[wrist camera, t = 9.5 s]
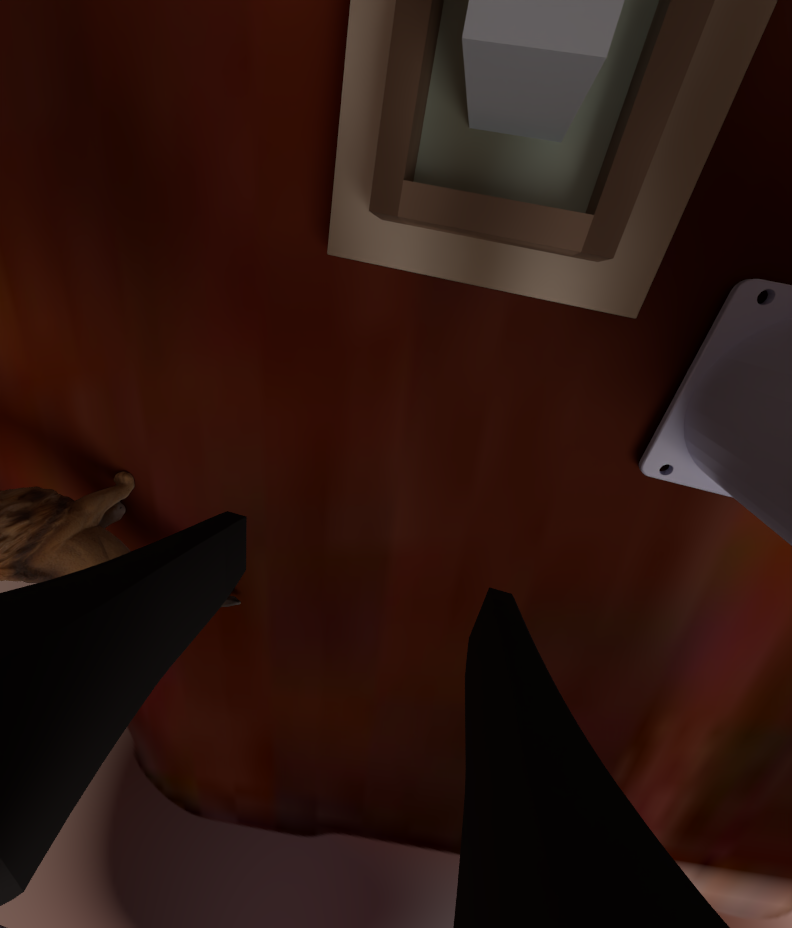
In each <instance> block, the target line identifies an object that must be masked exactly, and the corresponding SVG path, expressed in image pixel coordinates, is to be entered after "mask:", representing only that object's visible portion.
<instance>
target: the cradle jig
mask: <svg viewBox="0 0 792 928" xmlns="http://www.w3.org/2000/svg"><path fill="white" fill-rule="evenodd" d="M777 1H778V0H625V1H624V4H623V7H622V10H621V13H620V16H619V20H618V23H617V26H616V29H615V32H614V35H613V39H612V42H611V45H610V48H609V51H608V55H607V58H606V60H605V61H604V63H603V65H602V67H601V69H600V71H599V73H598V74H597V76H596V78H595V80H594V82H593V84H592V86H591V88H590V89H589V91H588V93H587V95H586V97H585V99H584V101H583V102H582V104H581V106H580V108H579V110H578V112H577V114H576V116H575V117H574V119H573V121H572V123H571V125H570V127H569V129H568V130H567V132H566V134H565V136H564V138H563V140H562V142H554V141H548V140H542V139H536V138H529V137H523V136H517V135H510V134H504V133H498V132H492V131H485V130H479V129H473V128H469V119H468V107H467V94H466V82H465V70H464V57H463V45H462V35H463V30H464V25H465V19H466V14H467V9H468V3H469V0H350V11H349V22H348V33H347V44H346V55H345V66H344V77H343V88H342V99H341V110H340V121H339V131H338V142H337V153H336V164H335V175H334V186H333V197H332V208H331V219H330V230H329V241H328V252H327V254H329V255H333V256H338V257H342V258H347V259H352V260H357V261H361V262H366V263H371V264H376V265H381V266H385V267H390V268H395V269H400V270H405V271H409V272H414V273H419V274H424V275H428V276H433V277H438V278H443V279H448V280H452V281H457V282H462V283H467V284H472V285H476V286H481V287H486V288H491V289H495V290H500V291H505V292H510V293H515V294H519V295H524V296H529V297H534V298H539V299H543V300H548V301H553V302H558V303H562V304H567V305H572V306H577V307H582V308H586V309H591V310H596V311H601V312H605V313H610V314H615V315H620V316H625V317H630V318H635V319H636V317H637V315H638V313H639V311H640V308H641V306H642V304H643V302H644V299H645V297H646V295H647V293H648V290H649V288H650V286H651V284H652V281H653V279H654V277H655V275H656V272H657V270H658V268H659V266H660V263H661V261H662V259H663V257H664V254H665V252H666V250H667V248H668V245H669V243H670V241H671V239H672V236H673V234H674V232H675V230H676V227H677V225H678V223H679V221H680V218H681V216H682V214H683V212H684V209H685V207H686V205H687V203H688V200H689V198H690V196H691V194H692V191H693V189H694V187H695V185H696V182H697V180H698V178H699V176H700V174H701V171H702V169H703V167H704V165H705V162H706V160H707V158H708V156H709V153H710V151H711V149H712V147H713V144H714V142H715V140H716V138H717V135H718V133H719V131H720V129H721V126H722V124H723V122H724V120H725V117H726V115H727V113H728V111H729V108H730V106H731V104H732V102H733V99H734V97H735V95H736V93H737V90H738V88H739V86H740V84H741V81H742V79H743V77H744V75H745V72H746V70H747V68H748V66H749V63H750V61H751V59H752V57H753V54H754V52H755V50H756V48H757V45H758V43H759V41H760V39H761V37H762V34H763V32H764V30H765V28H766V25H767V23H768V21H769V19H770V16H771V14H772V12H773V10H774V7H775V5H776V3H777Z"/></svg>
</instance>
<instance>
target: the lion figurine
mask: <svg viewBox="0 0 792 928" xmlns="http://www.w3.org/2000/svg"><path fill="white" fill-rule="evenodd" d="M114 482H115V483H116V486H114V487H110V488H106V489H103V490H100V491H97V492H94V493H91V494H89V495H86V496H84V497H82V498H80V499H78V500H76V501H74V500H72V499H71V498H69V497H66V496H62V495H60V494H58V493H57V492H56V491H54V490H52V489H42V488H40V487H29V488H18V489H9V490H5V491H0V581H3V580H9V581H24V582H27V583H40V582H44V581H48V580H51V579H54V578H57V577H61V576H64V575H67V574H70V573H73V572H76V571H80V570H83V569H86V568H89V567H91V566H94V565H97V564H100V563H103V562H106V561H108V560H111V559H114V558H116V557H119V556H121V555H124V554H126V553H129V552H131V551H130V550H129V549H128V548H127V547H126V546H125V545H124V543H123V542H122V541H120V540H119V539H118V538H117V537H116V536H114V535H113V534H112V533H110V532H109V531H107V530H106V529H104V528H106V527H107V526H109V525H110V524H112V523H114V522H116V521H118V520H120V519H121V518H122V516H123V515H124V513H125V510H126V509H125V506H124V505H123V504H122V503H121V502H120V500H122V499H125V498H126V497H128V495H129V493H130V492H131V491H132V489H133V488H134V486H135V485H134V478H133V476H132V475H131V474H130V473H128V472H119V473H117V474H116V475H115V478H114ZM240 603H241V602H240V601H239V600H238V599H237V598H236V597H234V596H229V597H228V598H227V600H226V601H225V602H224V603H223V605H222V606H221V607H228V606H233V605H239V604H240Z"/></svg>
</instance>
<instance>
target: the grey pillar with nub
mask: <svg viewBox="0 0 792 928" xmlns="http://www.w3.org/2000/svg"><path fill="white" fill-rule="evenodd" d="M624 1H625V0H469V3H468V9H467V14H466V19H465V25H464V30H463V35H462V45H463V57H464V70H465V82H466V94H467V107H468V119H469V128H473V129H479V130H485V131H492V132H498V133H504V134H510V135H517V136H523V137H529V138H536V139H542V140H548V141H554V142H562V140H563V138H564V136H565V134H566V132H567V130H568V129H569V127H570V125H571V123H572V121H573V119H574V117H575V116H576V114H577V112H578V110H579V108H580V106H581V104H582V102H583V101H584V99H585V97H586V95H587V93H588V91H589V89H590V88H591V86H592V84H593V82H594V80H595V78H596V76H597V74H598V73H599V71H600V69H601V67H602V65H603V63H604V61H605V60H606V58H607V55H608V51H609V48H610V45H611V42H612V39H613V35H614V32H615V29H616V26H617V23H618V20H619V16H620V13H621V10H622V7H623V4H624Z"/></svg>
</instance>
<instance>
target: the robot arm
mask: <svg viewBox="0 0 792 928" xmlns="http://www.w3.org/2000/svg"><path fill="white" fill-rule="evenodd" d="M764 290H766V291H767V293H768V296H767V299H766V300H765V301H764V302H763V303H761V304H758V302H757V297H758V295H759V294H760V293H761V292H762V291H764ZM666 464H669V468H668V469H667V470H665V471H659V470H660V468H661V467H662V466H663V465H666ZM639 469H640V470H641V471H642V472H643V473H644V474H645V475H647V476H649V477H653V478H657V479H661V480H665V481H669V482H673V483H677V484H681V485H685V486H689V487H693V488H697V489H701V490H705V491H709V492H713V493H717V494H721V495H725V496H729V497H733V498H735V499H736V500H737V501H738V502H739V503H741V504H742V505H743V506H744V507H746V508H747V509H748V510H749V511H750V512H752V513H753V514H754V515H755V516H756V517H758V518H759V519H760V520H761V521H762V522H764V523H765V524H766V525H767V526H769V527H770V528H771V529H772V530H773V531H775V532H776V533H777V534H778V535H779V536H781V537H782V538H783V539H784V540H785V541H787V542H788V543H789V544H790V545H791V546H792V285H788V284H783V283H778V282H773V281H767V280H762V279H746V280H743V281H741V282H739V283H738V284H736V285H735V286H734V287H733V289H732V290H731V291H730V293H729V295H728V297H727V299H726V301H725V302H724V304H723V306H722V308H721V310H720V312H719V314H718V316H717V317H716V319H715V321H714V323H713V325H712V327H711V329H710V330H709V332H708V334H707V336H706V338H705V340H704V342H703V344H702V345H701V347H700V349H699V351H698V353H697V355H696V357H695V359H694V360H693V362H692V364H691V366H690V368H689V370H688V372H687V373H686V375H685V377H684V379H683V381H682V383H681V385H680V387H679V388H678V390H677V392H676V394H675V396H674V398H673V400H672V401H671V403H670V405H669V407H668V409H667V411H666V413H665V415H664V416H663V418H662V420H661V422H660V424H659V426H658V428H657V430H656V431H655V433H654V435H653V437H652V439H651V441H650V443H649V444H648V446H647V448H646V450H645V452H644V454H643V456H642V458H641V459H640V462H639ZM245 570H246V517H245V516H242V515H238V514H235V513H232V512H228V511H227V512H224V513H222V514H219V515H217V516H214V517H212V518H210V519H207V520H205V521H203V522H200V523H198V524H196V525H194V526H191V527H189V528H187V529H185V530H182V531H180V532H178V533H175V534H173V535H171V536H168V537H166V538H164V539H161V540H159V541H157V542H154V543H152V544H149V545H147V546H144V547H142V548H139V549H137V550H134V551H131V552H129V553H126V554H124V555H121V556H119V557H116V558H114V559H111V560H108V561H106V562H103V563H100V564H97V565H94V566H91V567H89V568H86V569H83V570H80V571H76V572H73V573H70V574H67V575H64V576H61V577H57V578H54V579H51V580H48V581H44V582H40V583H37V584H33V585H29V586H26V587H22V588H18V589H14V590H10V591H7V592H3V593H0V906H1V905H3V904H5V903H7V902H9V901H11V900H12V899H14V898H15V897H16V896H18V895H19V894H21V893H23V892H24V890H25V889H26V887H27V885H28V883H29V882H30V880H31V878H32V876H33V875H34V873H35V871H36V870H37V868H38V866H39V865H40V863H41V861H42V860H43V858H44V856H45V854H46V853H47V851H48V850H49V848H50V846H51V845H52V843H53V841H54V840H55V838H56V837H57V835H58V833H59V832H60V830H61V828H62V826H63V825H64V823H65V822H66V820H67V818H68V817H69V815H70V813H71V812H72V810H73V808H74V807H75V805H76V804H77V802H78V801H79V799H80V798H81V796H82V795H83V793H84V791H85V790H86V788H87V787H88V785H89V783H90V782H91V780H92V779H93V777H94V776H95V774H96V772H97V771H98V769H99V768H100V766H101V765H102V763H103V762H104V760H105V759H106V757H107V756H108V754H109V753H110V751H111V750H112V748H113V747H114V745H115V744H116V742H117V741H118V739H119V738H120V736H121V735H122V733H123V732H124V730H125V729H126V727H127V726H128V724H129V723H130V721H131V720H132V719H133V717H134V716H135V714H136V713H137V711H138V710H139V709H140V707H141V706H142V704H143V703H144V701H145V700H146V699H147V697H148V696H149V694H150V693H151V692H152V690H153V689H154V687H155V686H156V684H157V683H158V682H159V681H160V679H161V678H162V677H163V675H164V674H165V673H166V672H167V670H168V669H169V668H170V667H171V665H172V664H173V663H174V662H175V661H176V659H177V658H178V657H179V656H180V655H181V654H182V652H183V651H184V650H185V649H186V648H187V646H188V645H189V644H190V643H191V642H192V641H193V639H194V638H195V637H196V636H197V635H198V633H199V632H200V631H201V630H202V629H203V627H204V626H205V625H206V624H207V623H208V622H209V620H210V619H211V618H212V617H213V616H214V614H215V613H216V612H217V611H218V609H219V608H220V607H221V606H222V605H223V603H224V602H225V601H226V600H227V598H228V597H229V595H230V594H231V592H232V591H233V589H234V588H235V586H236V585H237V583H238V581H239V580H240V578H241V577H242V575H243V573H244V572H245ZM465 736H466V779H465V800H464V814H463V827H462V840H461V852H460V864H459V875H458V887H457V898H456V908H455V919H454V928H729V926H728V925H727V924H726V923H725V922H724V921H723V919H722V918H721V917H720V916H719V915H718V914H717V913H716V911H715V910H714V909H713V908H712V907H711V905H710V904H709V903H708V902H707V901H706V899H705V898H704V897H703V896H702V895H701V893H700V892H699V891H698V890H697V888H696V887H695V886H694V885H693V883H692V882H691V881H690V880H689V878H688V877H687V876H686V875H685V873H684V872H683V871H682V870H681V868H680V867H679V866H678V865H677V863H676V862H675V861H674V860H673V858H672V857H671V856H670V855H669V853H668V852H667V851H666V850H665V848H664V847H663V846H662V844H661V843H660V842H659V840H658V839H657V838H656V837H655V835H654V834H653V833H652V831H651V830H650V829H649V827H648V826H647V825H646V823H645V822H644V820H643V819H642V818H641V816H640V815H639V814H638V812H637V811H636V810H635V808H634V807H633V805H632V804H631V803H630V801H629V800H628V799H627V797H626V796H625V795H624V793H623V792H622V790H621V789H620V788H619V786H618V785H617V784H616V782H615V781H614V779H613V778H612V776H611V775H610V773H609V772H608V771H607V769H606V768H605V766H604V765H603V763H602V762H601V760H600V759H599V757H598V756H597V754H596V752H595V751H594V749H593V748H592V746H591V745H590V743H589V742H588V740H587V738H586V737H585V735H584V734H583V732H582V730H581V729H580V727H579V725H578V724H577V722H576V720H575V719H574V717H573V715H572V714H571V712H570V710H569V708H568V707H567V705H566V703H565V701H564V700H563V698H562V696H561V694H560V693H559V691H558V689H557V687H556V685H555V683H554V681H553V680H552V678H551V676H550V674H549V672H548V670H547V668H546V666H545V664H544V662H543V660H542V658H541V656H540V654H539V652H538V650H537V648H536V646H535V644H534V642H533V640H532V637H531V635H530V633H529V631H528V629H527V626H526V624H525V622H524V620H523V618H522V615H521V613H520V611H519V608H518V606H517V604H516V601H515V599H514V597H513V595H512V594H510V593H507V592H503V591H500V590H496V589H493V588H489V590H488V592H487V595H486V597H485V600H484V602H483V605H482V607H481V610H480V612H479V615H478V617H477V620H476V622H475V625H474V627H473V630H472V632H471V635H470V637H469V643H468V652H467V662H466V672H465ZM0 928H6V927H4V926H1V925H0Z"/></svg>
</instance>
